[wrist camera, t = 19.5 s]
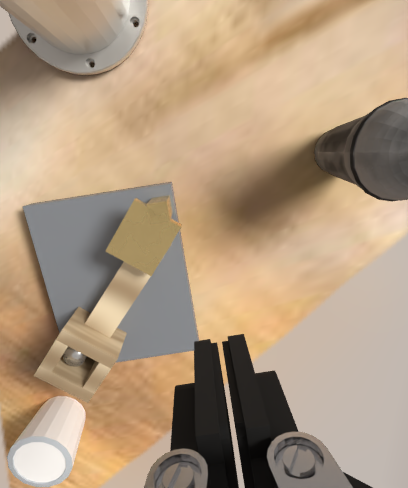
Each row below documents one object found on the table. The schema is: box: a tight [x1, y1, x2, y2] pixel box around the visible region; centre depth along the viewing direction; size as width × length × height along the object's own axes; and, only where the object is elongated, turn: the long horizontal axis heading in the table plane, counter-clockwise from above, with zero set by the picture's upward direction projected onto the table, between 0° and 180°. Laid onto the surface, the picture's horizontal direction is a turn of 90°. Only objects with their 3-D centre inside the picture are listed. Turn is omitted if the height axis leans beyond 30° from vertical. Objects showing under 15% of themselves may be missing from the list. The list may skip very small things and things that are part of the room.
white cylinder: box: [7, 396, 86, 487], centre depth 40 cm, size 7×7×7 cm
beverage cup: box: [314, 98, 408, 201], centre depth 27 cm, size 7×7×20 cm
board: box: [23, 182, 199, 362], centre depth 38 cm, size 19×15×2 cm
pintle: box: [63, 346, 87, 367], centre depth 38 cm, size 2×2×6 cm
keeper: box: [106, 195, 182, 276], centre depth 34 cm, size 7×5×6 cm
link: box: [34, 243, 172, 403], centre depth 35 cm, size 18×6×5 cm, turn 146°
